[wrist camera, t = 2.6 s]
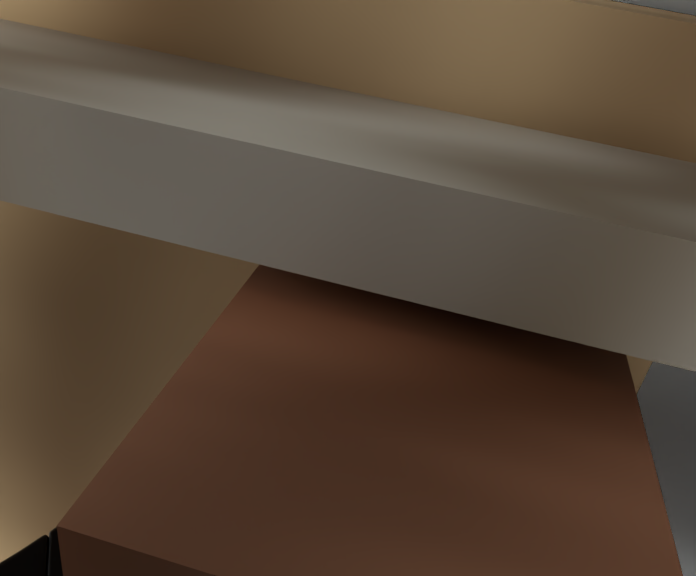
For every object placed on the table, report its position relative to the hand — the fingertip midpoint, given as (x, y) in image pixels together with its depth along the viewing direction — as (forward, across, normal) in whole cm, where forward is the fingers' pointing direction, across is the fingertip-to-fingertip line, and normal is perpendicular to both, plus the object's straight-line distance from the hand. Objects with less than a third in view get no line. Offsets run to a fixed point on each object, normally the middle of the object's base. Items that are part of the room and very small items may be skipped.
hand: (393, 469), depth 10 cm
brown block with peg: (+1, 0, +2) cm, 2 cm away
